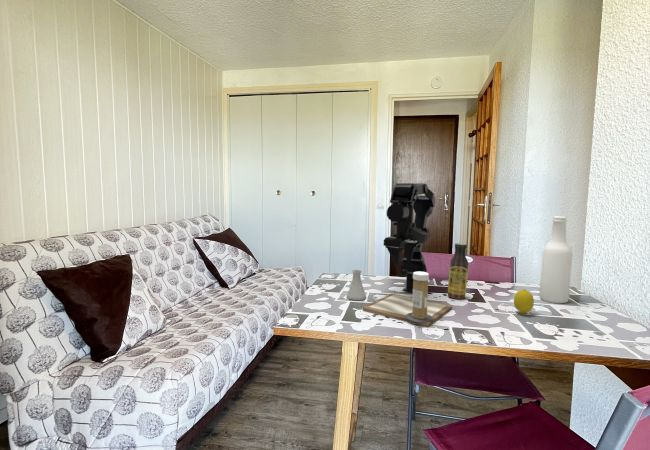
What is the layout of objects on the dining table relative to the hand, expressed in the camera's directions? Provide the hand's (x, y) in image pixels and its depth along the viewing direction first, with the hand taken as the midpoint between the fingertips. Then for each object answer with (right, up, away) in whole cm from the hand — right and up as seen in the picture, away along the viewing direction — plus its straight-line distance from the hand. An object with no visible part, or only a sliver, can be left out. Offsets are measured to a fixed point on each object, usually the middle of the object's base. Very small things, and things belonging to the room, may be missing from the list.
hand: (403, 264), depth 125 cm
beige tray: (0, -14, -9) cm, 16 cm away
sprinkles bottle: (+1, -14, -18) cm, 23 cm away
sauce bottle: (+21, -13, +5) cm, 25 cm away
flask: (-16, -13, +4) cm, 21 cm away
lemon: (+36, -15, -11) cm, 40 cm away
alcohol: (+55, -13, +3) cm, 56 cm away
